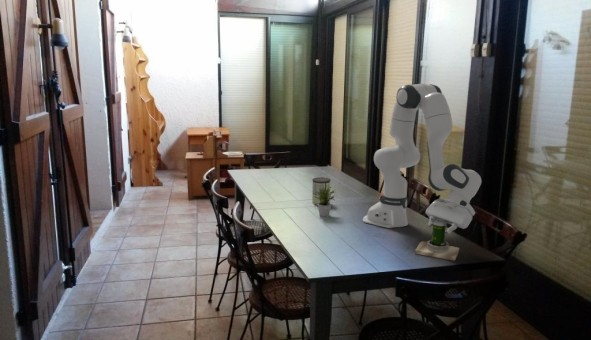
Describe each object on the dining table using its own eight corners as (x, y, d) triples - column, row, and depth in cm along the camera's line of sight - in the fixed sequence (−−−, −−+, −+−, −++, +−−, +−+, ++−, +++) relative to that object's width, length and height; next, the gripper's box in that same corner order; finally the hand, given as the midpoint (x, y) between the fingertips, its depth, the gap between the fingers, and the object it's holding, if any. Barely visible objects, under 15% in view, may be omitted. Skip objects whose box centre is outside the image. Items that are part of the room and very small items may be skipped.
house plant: (336, 221, 238) (337, 189, 235) (309, 219, 241) (310, 188, 237) (339, 213, 252) (340, 183, 248) (314, 211, 254) (314, 182, 251)
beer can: (447, 249, 197) (449, 222, 195) (439, 252, 194) (442, 224, 191) (435, 245, 201) (437, 218, 199) (428, 248, 198) (430, 221, 195)
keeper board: (415, 253, 196) (415, 244, 196) (421, 244, 207) (421, 235, 206) (454, 260, 189) (455, 251, 188) (459, 250, 200) (459, 242, 199)
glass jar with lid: (312, 200, 276) (313, 177, 273) (330, 201, 275) (330, 177, 272) (311, 205, 266) (311, 181, 263) (329, 205, 265) (330, 181, 262)
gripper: (433, 193, 206) (416, 218, 203) (472, 205, 189) (454, 232, 186) (439, 202, 209) (422, 226, 206) (478, 214, 192) (460, 240, 189)
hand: (438, 229), depth 196 cm, fingers open, 8 cm apart
